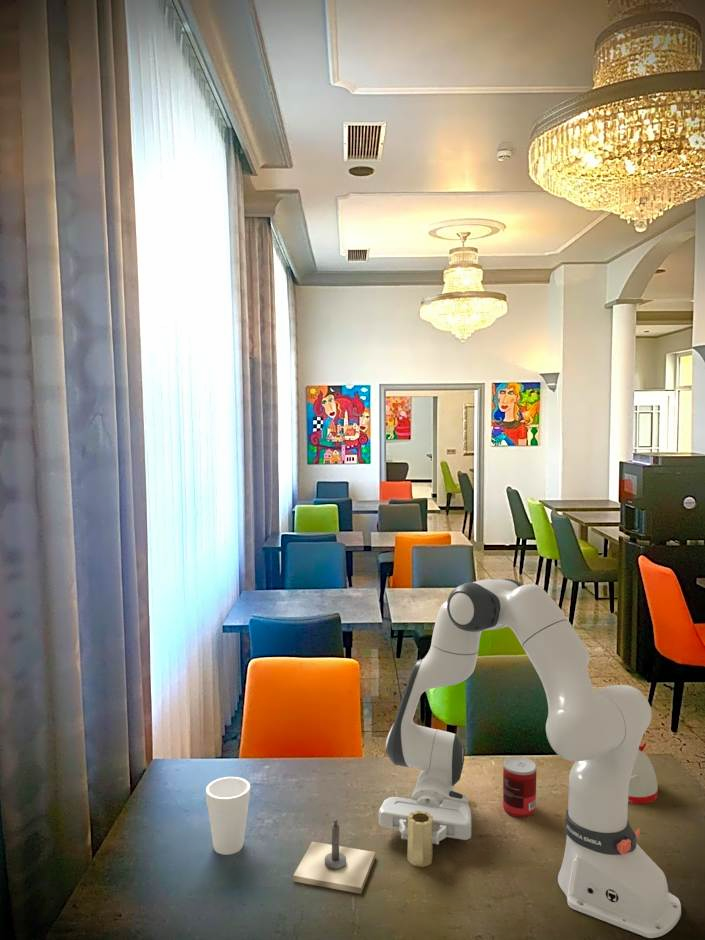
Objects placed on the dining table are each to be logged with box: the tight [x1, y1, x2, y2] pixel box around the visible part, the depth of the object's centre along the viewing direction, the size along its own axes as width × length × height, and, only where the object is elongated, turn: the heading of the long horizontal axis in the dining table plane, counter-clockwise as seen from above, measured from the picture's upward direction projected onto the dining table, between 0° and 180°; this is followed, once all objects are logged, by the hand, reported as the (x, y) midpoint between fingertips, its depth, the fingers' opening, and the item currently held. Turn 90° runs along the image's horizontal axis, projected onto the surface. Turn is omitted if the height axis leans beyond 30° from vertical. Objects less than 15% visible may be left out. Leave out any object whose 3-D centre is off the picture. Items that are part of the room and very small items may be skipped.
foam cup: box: [205, 776, 251, 856], centre depth 152 cm, size 10×9×13 cm
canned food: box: [502, 756, 537, 819], centre depth 167 cm, size 8×8×11 cm
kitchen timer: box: [628, 742, 659, 804], centre depth 177 cm, size 14×14×15 cm
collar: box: [406, 811, 434, 868], centre depth 148 cm, size 5×5×9 cm
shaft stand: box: [292, 818, 376, 895], centre depth 144 cm, size 14×12×10 cm
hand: (419, 838), depth 147 cm, fingers closed on collar, 5 cm apart
